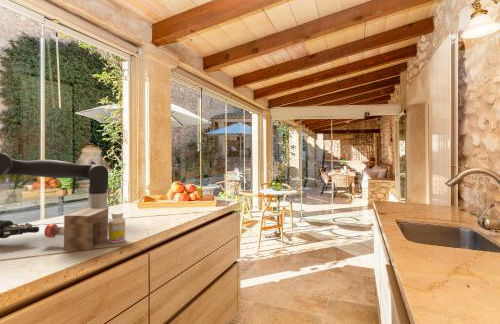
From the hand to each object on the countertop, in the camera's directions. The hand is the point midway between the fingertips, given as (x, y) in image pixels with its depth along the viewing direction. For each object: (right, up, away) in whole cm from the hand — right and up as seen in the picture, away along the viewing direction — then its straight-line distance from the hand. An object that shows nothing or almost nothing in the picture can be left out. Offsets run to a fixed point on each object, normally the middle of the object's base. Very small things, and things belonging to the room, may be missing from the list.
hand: (37, 229), depth 120 cm
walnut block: (+20, -7, +3) cm, 21 cm away
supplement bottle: (+30, -7, +8) cm, 32 cm away
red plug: (+12, -3, 0) cm, 12 cm away
